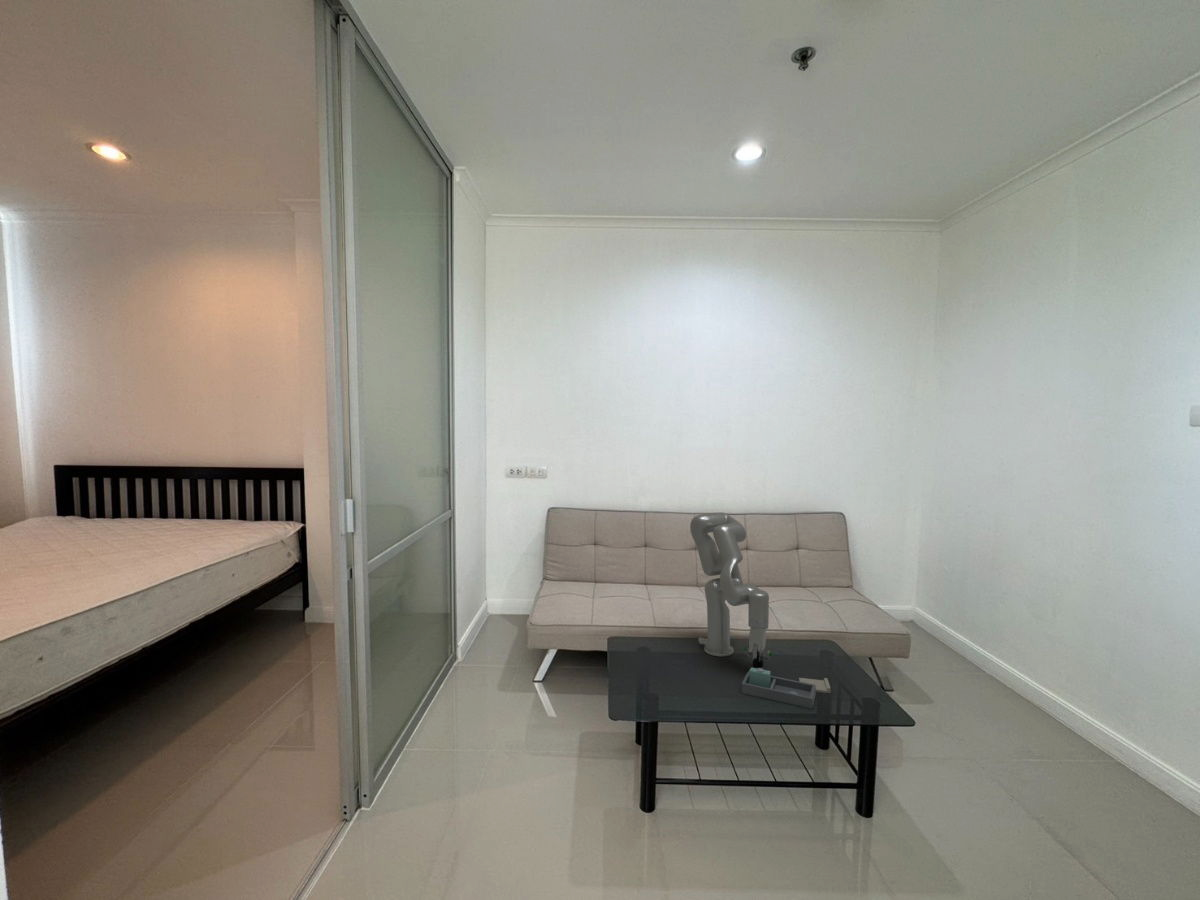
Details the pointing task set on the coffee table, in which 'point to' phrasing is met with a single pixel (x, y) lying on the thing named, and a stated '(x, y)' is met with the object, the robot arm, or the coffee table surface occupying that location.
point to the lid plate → (818, 684)
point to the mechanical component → (750, 655)
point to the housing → (778, 688)
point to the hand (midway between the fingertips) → (757, 667)
